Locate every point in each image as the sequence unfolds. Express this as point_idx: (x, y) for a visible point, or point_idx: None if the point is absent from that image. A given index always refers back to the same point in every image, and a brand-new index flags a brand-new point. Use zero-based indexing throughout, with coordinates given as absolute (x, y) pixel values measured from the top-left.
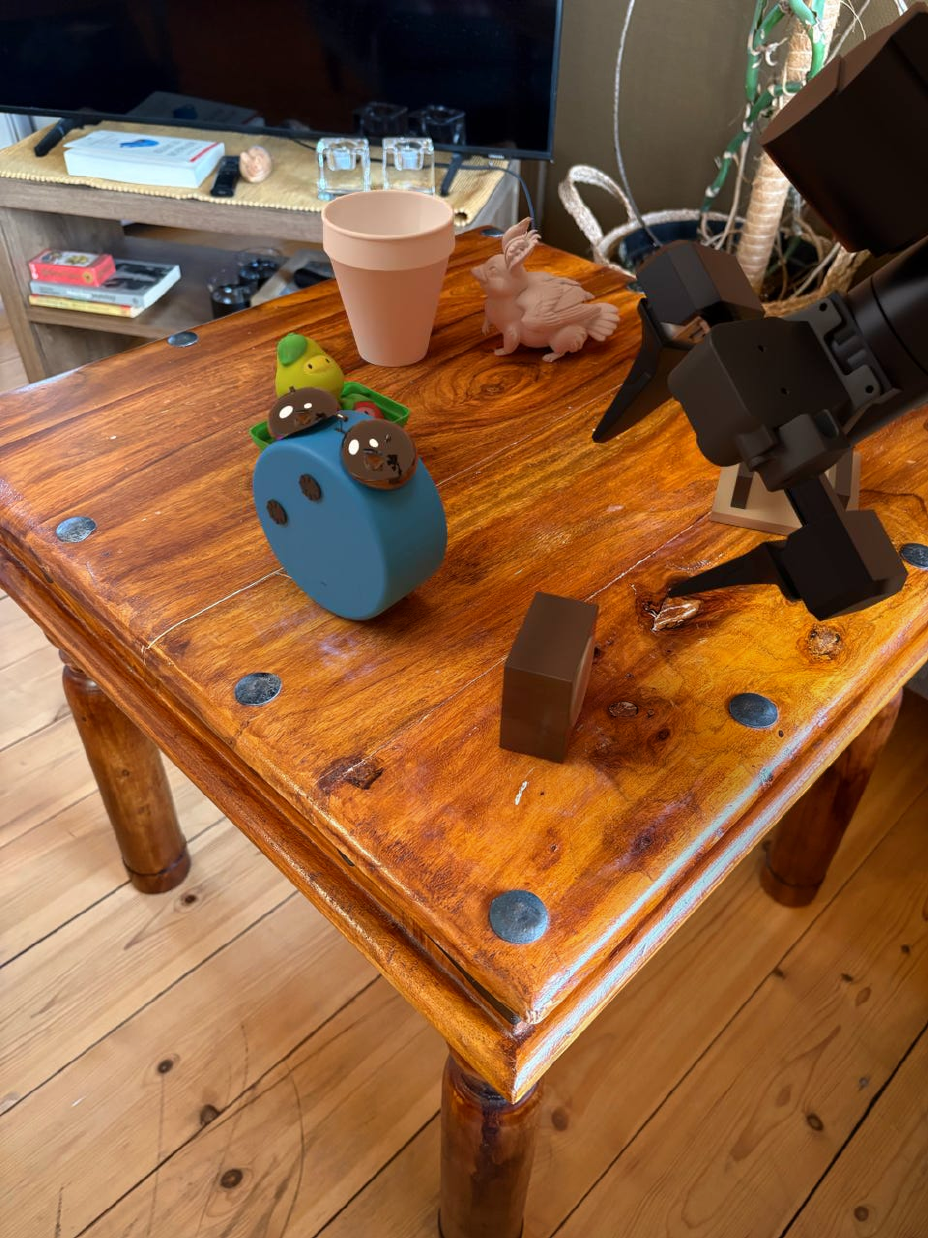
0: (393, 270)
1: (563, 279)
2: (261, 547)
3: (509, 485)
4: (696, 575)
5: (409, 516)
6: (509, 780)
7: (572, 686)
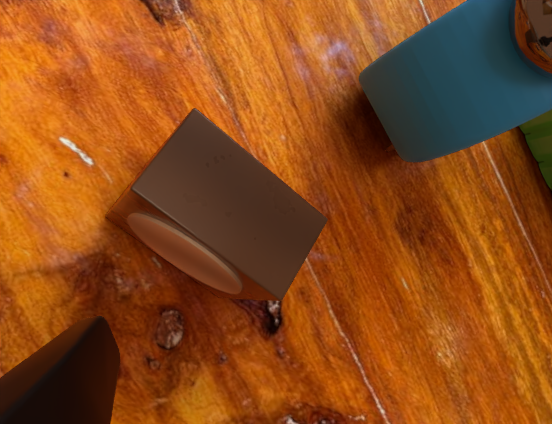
0: None
1: None
2: None
3: (523, 322)
4: (35, 384)
5: (469, 72)
6: (100, 146)
7: (130, 193)
